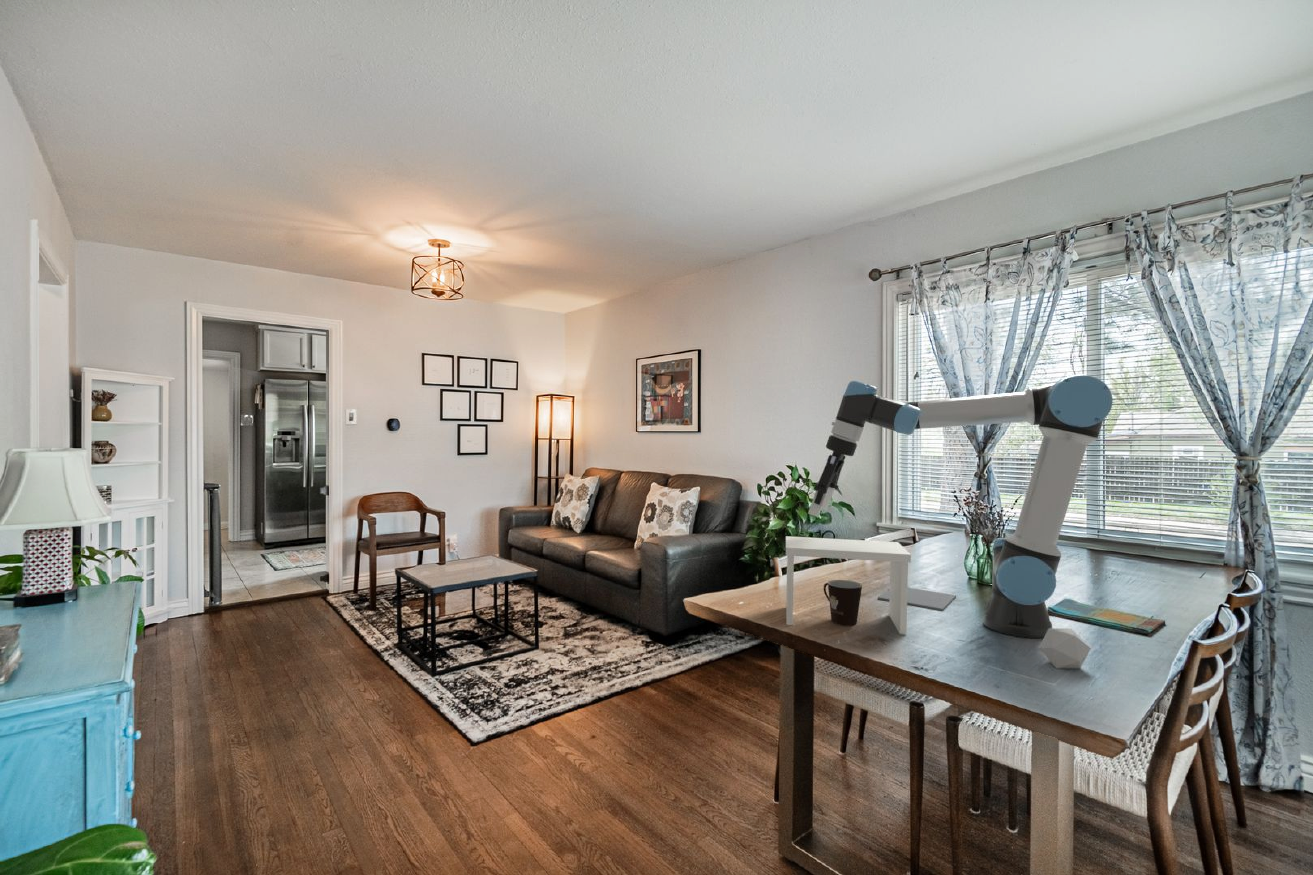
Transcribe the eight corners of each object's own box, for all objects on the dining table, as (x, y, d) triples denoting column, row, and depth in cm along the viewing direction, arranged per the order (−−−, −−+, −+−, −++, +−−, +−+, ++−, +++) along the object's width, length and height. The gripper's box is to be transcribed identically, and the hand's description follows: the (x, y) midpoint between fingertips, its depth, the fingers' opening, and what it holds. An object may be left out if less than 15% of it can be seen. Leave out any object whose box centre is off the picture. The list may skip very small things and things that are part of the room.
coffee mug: (865, 627, 155) (866, 588, 155) (832, 626, 155) (832, 587, 155) (851, 613, 167) (852, 577, 166) (820, 612, 167) (821, 576, 166)
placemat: (956, 597, 185) (956, 595, 185) (943, 610, 170) (943, 608, 170) (894, 587, 196) (894, 585, 196) (877, 599, 181) (877, 597, 181)
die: (1089, 680, 125) (1103, 639, 128) (1049, 656, 127) (1064, 616, 130) (1063, 679, 133) (1077, 640, 136) (1026, 656, 135) (1041, 618, 137)
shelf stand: (784, 606, 172) (785, 536, 172) (896, 614, 166) (898, 542, 166) (784, 625, 156) (786, 547, 155) (908, 635, 149) (910, 554, 149)
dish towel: (1065, 605, 180) (1065, 596, 180) (1166, 625, 162) (1166, 616, 162) (1043, 615, 169) (1044, 606, 169) (1149, 639, 151) (1149, 629, 151)
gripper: (837, 433, 175) (813, 501, 178) (822, 434, 153) (795, 512, 156) (863, 441, 172) (838, 511, 175) (851, 444, 150) (823, 523, 153)
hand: (817, 512), depth 166 cm, fingers open, 13 cm apart
